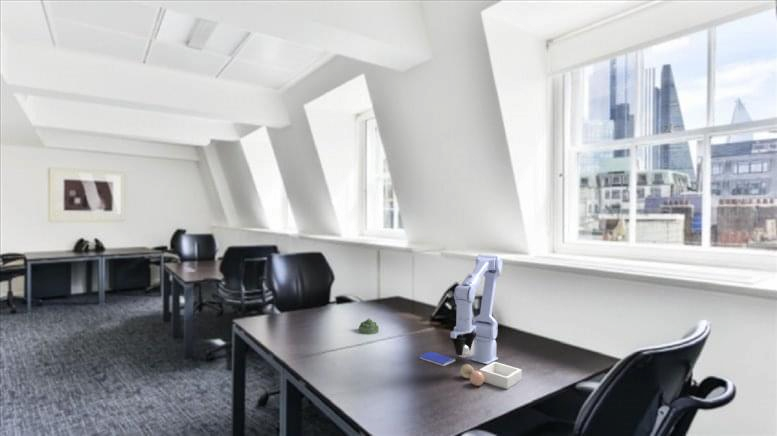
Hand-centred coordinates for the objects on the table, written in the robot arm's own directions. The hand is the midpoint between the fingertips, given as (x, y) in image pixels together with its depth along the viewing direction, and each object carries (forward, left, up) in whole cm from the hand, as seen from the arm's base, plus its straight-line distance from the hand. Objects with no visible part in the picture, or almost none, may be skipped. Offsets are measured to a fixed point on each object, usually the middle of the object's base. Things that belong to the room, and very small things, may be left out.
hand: (463, 353), depth 157 cm
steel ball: (0, 0, -2) cm, 2 cm away
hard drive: (-6, -16, -9) cm, 20 cm away
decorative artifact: (-14, -65, -9) cm, 67 cm away
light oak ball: (+1, +3, -8) cm, 9 cm away
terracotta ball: (+4, +9, -8) cm, 13 cm away
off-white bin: (-6, +13, -8) cm, 16 cm away
